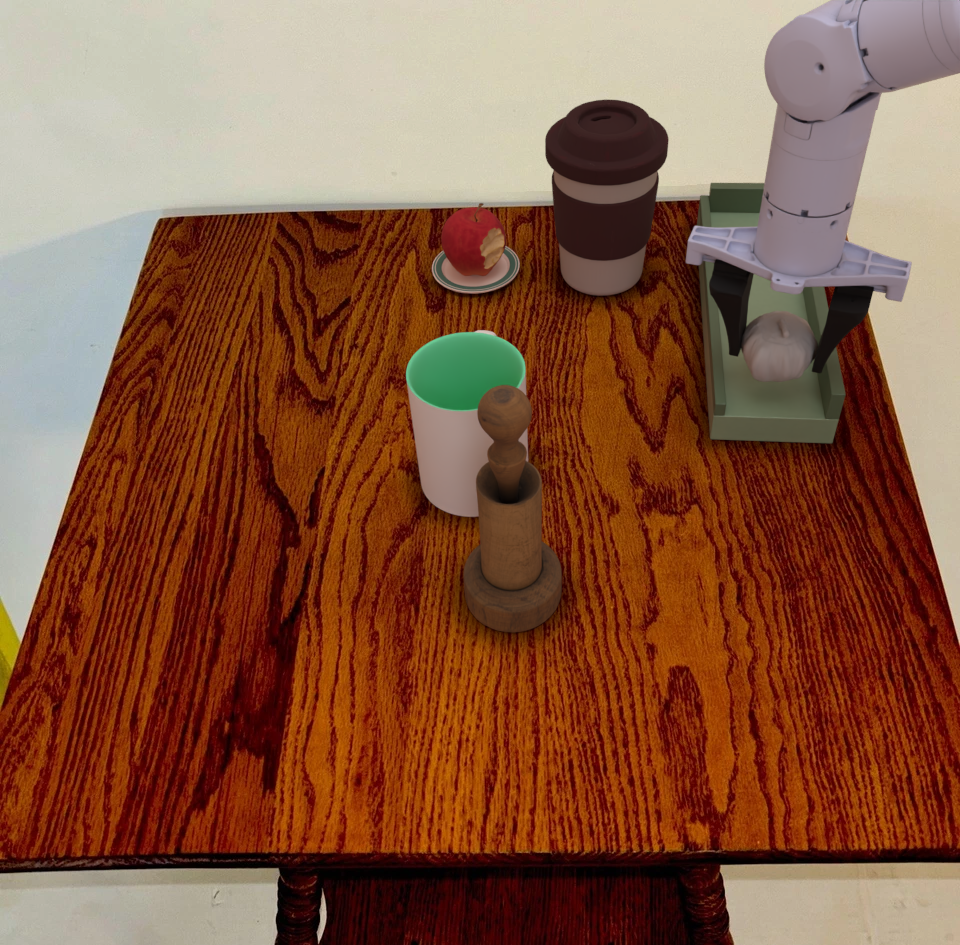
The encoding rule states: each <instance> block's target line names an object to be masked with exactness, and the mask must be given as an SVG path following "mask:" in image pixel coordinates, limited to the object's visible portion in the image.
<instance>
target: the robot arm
mask: <svg viewBox="0 0 960 945" xmlns="http://www.w3.org/2000/svg"><path fill="white" fill-rule="evenodd" d="M763 68H764V76H765V81H766V85H767V88H768V90H769V93H770V95H771V97H772V98H773V100H774V101H775V103H776V110H775V116H774V120H773V121H774V122H773V127H772V128H773V129H772V135H771V142H770V146H769V154H768V159H767V160H768V161H767V166H766V171H765V177H764V182H763V183H764V190H763V196H762V202H761V208H760V214H759V221H758V227H726V228H714V227H702V226H697V225H694V226H693V227H692V230H691V232H690V234H689V237H688V240H687V245H686V255H685V264H688V265H693V266H699V265H701V264H702V261H707V262H712V263H714V269H713V273H712V277H711V279H710V282H709V289H710V294H711V296H712V297H713V299H714V300H715V302H716V304H717V306H718V308H719V310H720V312H721V315H722V317H723V320H724V324H725V327H726V332H727V336H728V343H729V355H732V356H737V357H738V355H739V353H740V350H741V342H742V337H743V334H744V332H745V329H746V326H747V314H748V302H749V295H750V290H751V285H752V280H753V275H754V274H756V275H758V276H760V277H763V278H765V279H768V280H770V281H771V284H770V288H771V289H772V290H774V291H778V292H783V293H789V294H800V293H801V292H802V291H803V288H804V287H824V288H825V287H826V288H827V287H834V289H833V292H832V296H831V299H830V303H829V306H828V309H829V311H828V315H827V320H826V324H825V327H824V330H823V333H822V336H821V338H820V341H819V345H818V350H817V353H816V356H815V359H814V363H813V367H812V372H816V373H822V370H823V367H824V365H825V363H826V361H827V360H828V358H829V356H830V355H831V353H832V352H833V350H834V349H835V348H836V349H837V346H838V345H839V344H840V342H841V341H843V339H844V338H845V337H846V336H847V335H848V334H849V333H850V332H851V331H852V330H853V329H854V328H856V327H857V326H859V325H860V324H861V323H862V322H863V320H864V319H865V318H866V317H867V315H868V312H869V310H870V306H871V302H872V297H873V294H874V292H877V293H882V294H885V295H884V297H885V299H886V300H888V301H893V302H899V303H902V302H903V299H904V296H905V292H906V290H907V285H908V283H909V282H908V281H909V279H910V274H911V269H912V265H913V263H912V261H908V260H904V259H899V258H896V257H892V256H888V255H886V254H883V253H880V252H877V251H875V250H872V249H870V248H867V247H864V246H863V245H859V244H856V243H854V242H852V241H849V240H846V239H847V236H848V235H847V234H848V230H849V226H850V222H851V218H852V214H853V210H854V205H855V201H856V197H857V192H858V188H859V183H860V180H861V175H862V171H863V167H864V162H865V159H866V155H867V151H868V146H869V142H870V138H871V134H872V129H873V124H874V122H875V121H874V120H875V116H876V112H877V110H878V108H879V104H880V101H881V97H882V94H885V93H887V94H888V93H894V92H897V91H900V90H905V89H908V88H911V87H914V86H915V87H916V86H919V85H921V84H925V83H926V84H927V83H929V82H933V81H937V80H939V79H944V78H948V77H951V76H955V75H958V74H960V0H829V1H826V2H825V3H823V4H821V5H819V6H816V7H815V8H813V9H811V10H809V11H807V12H805V13H803V14H799V15H797V16H796V17H794V18H793V19H792V20H790V21H789V22H788V23H787V24H785V25H784V26H782V27H780V29H778V31H777V32H775V34H774V35H772V37H771V39H770V41H769V43H768V45H767V48H766V51H765V55H764V65H763Z"/></svg>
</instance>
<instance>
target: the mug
mask: <svg viewBox="0 0 960 945" xmlns="http://www.w3.org/2000/svg"><path fill="white" fill-rule="evenodd" d="M526 370H527V369H526V361H525V359H524V357H523V354H522V353H521V352H520V351H519V350H518V348H517V347H516V346H514V345H513V343H511V342H509V341H508V340H506V339H504V338H502V337H499V336H498V335H497V334H496V333H495V331H494V332H493V331H491V330H484V329H478V330H474V331H464V332H455V333H450V334H446V335H442V336H440V337H437V338H435V339H433V340H431V341H429V342H427V343H425V344H424V345H423V346H421V347H420V348H419V349H417V351H416V352H414V353H413V355H412V356H411V357H410V360H409V361H408V363H407V365H406V370H405V380H406V386H407V394H408V400H409V408H410V416H411V422H412V429H413V436H414V444H415V451H416V458H417V466H418V472H419V479H420V485H421V489H422V492H423V494H424V496H425V497H426V499H427V500H428V501H429V502H430V503H431V504H432V505H433V506H435V507H436V508H438V509H439V510H441V511H443V512H445V513H448V514H451V515H454V516H458V517H467V518H476V517H478V518H479V513H478V501H477V490H476V477H477V474H478V472H479V470H480V469H481V468H482V466H484V465H485V464H486V463H488V462H489V461H488V456H487V451H488V449H489V447H490V446H491V445H492V444H493V443H494V441H493V439H492V438H491V437H490V436H489V435H488V434H487V433H486V432H485V431H484V430H483V429H482V427H481V425H480V423H479V420H478V415H477V411H478V405H479V402H480V400H481V398H482V397H483V395H484V394H485V393H486V392H487V391H488V390H490V389H491V388H493V387H496V386H500V385H510V386H514V387H516V388H518V389H520V390H521V391H522V392H523V393H524V394H525V395H526V396H527V373H526V372H527V371H526ZM528 437H529V436H528V428H527V429H526V430H525V432H524V433H523V434H522V436H521V437H520V438H519V442H521V443H522V444H523V445H524V446H525V447H526V450H527V456H526V461H527V462H529V442H528V441H529V440H528V439H529V438H528Z"/></svg>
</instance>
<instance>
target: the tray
mask: <svg viewBox="0 0 960 945" xmlns="http://www.w3.org/2000/svg"><path fill="white" fill-rule="evenodd" d="M764 183H765V182H710V183H709V184H710V186H709V192H708V194H707V195H706V194H704V195H703V194H701V195H699V202H698V211H697V220H696V226H702V227H714V228H726V227H758V221H759V214H760V208H761V202H762V196H763V190H764ZM713 269H714V263H712V262H707V261H702V264H701V265H698V275H699V276H698V277H699V291H700V293H699V294H700V306H701V307H700V309H701V321H702V322H701V323H702V336H703V352H704V368H705V383H706V397H707V398H706V399H707V412H708V427H709V439H710V440H720V441H721V440H722V441H746V442H747V441H749V442H773V443H774V442H775V443H779V442H780V443H805V444H833V443H834V439H835V435H836V432H837V427H838V423H839V421H840V418H841V413H842V409H843V406H844V402H845V398H846V389H845V385H844V378H843V374H842V370H841V369H842V368H841V364H840V360H839V355H838V349H837V347H836V348H835V349H834V350H833V352H832V353H831V355H830V356H829V358H828V360H827V361H826V363H825V365H824V367H823V370H822V373H816V372H812V367H813V363H814V360H813V361H812V362H811V363H810V365H809V366H808V368H807V369H806V370H805V371H804V372H803V374H802V376H801V377H800V378H798V379H792V380H789V381H784V382H773V381H770V382H760V381H757V380H755V379H754V378H753V376H752V374H751V372H750V370H749V368H748V366H747V364H746V361H745V359H744V356H743V353H742V350H740V353H739V355H738V357H737V356H732V355H729V343H728V336H727V332H726V327H725V324H724V320H723V317H722V315H721V312H720V310H719V308H718V306H717V304H716V302H715V300H714V299H713V297H712V296H711V294H710V289H709V282H710V279H711V277H712V273H713ZM770 284H771V281H770V280H768V279H765V278H763V277H760V276H758V275H756V274H754V275H753V280H752V285H751V290H750V295H749V302H748V314H747V325H748V324H749V323H750V322H752V321H753V320H754V319H756V318H757V317H759V316H761V315H763V314H766V313H771V312H774V311H788V312H790V313H792V314H795V315H797V316H799V317H800V318H803V319H805V320H806V321H807V322H808V324H809V326H810V328H811V330H812V331H813V334H814V336H815V339H816V340H817V343H818V345H819V341H820V338H821V336H822V333H823V330H824V327H825V324H826V320H827V315H828V311H829V305H828V300H827V295H826V294H827V293H826V290H825V287H804V288H803V291H802V292H801V293H800V294H789V293H783V292H778V291H774V290H772V289H771V288H770ZM746 327H747V326H746ZM814 359H815V358H814Z"/></svg>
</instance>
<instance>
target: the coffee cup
mask: <svg viewBox="0 0 960 945" xmlns="http://www.w3.org/2000/svg"><path fill="white" fill-rule="evenodd" d="M669 141H670V140H669V134H668V132H667V130H666V129H665V127H664V125H662V124H661V123H660V122H659V121H658V120H656V119H655V118H654V117H651V116H650V115H649V113H648V112H647V111H646V110H645V109H644V108H643V107H641V106H639V105H638V104H635V103H633V102H629V101H625V100H619V99H596V100H591V101H587V102H584V103H581V104H579V105H577V106H575V107H573V108H572V109H571V110H570V111H569V112H568V113H567V114H566V115H565V116H563V117H562V118H560V119H558V120H557V121H555V123H553V124H552V125H551V126H550V127H549V129H548V130H547V132H546V135H545V138H544V142H545V143H544V148H545V149H544V150H545V151H544V152H545V160H546V162H547V164H548V166H549V167H550V168H551V170H552V174H551V190H552V204H553V216H554V228H555V237H556V240H557V241H558V246H559V247H558V250H559V261H560V272H561V275H562V278H563V280H564V281H565V283H566V284H567V285H568V286H570V287H571V288H572V289H574V290H576V291H578V292H580V293H582V294H587V295H591V296H613V295H617V294H620V293H621V294H622V293H624V292H626V291H627V290H629V289H631V288H633V287H634V286H635V285H636V284H637V283H638V282H639V280H640V279H641V277H642V273H643V269H644V262H645V256H646V249H647V245H648V243H649V240H650V237H651V233H652V227H653V221H654V214H655V207H656V201H657V197H658V196H657V194H658V188H659V184H660V183H659V182H660V176H659V172H658V171H659V170H660V169H662V167H663V166H664V164H665V163H666V160H667V157H668V152H669V151H668V150H669Z"/></svg>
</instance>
